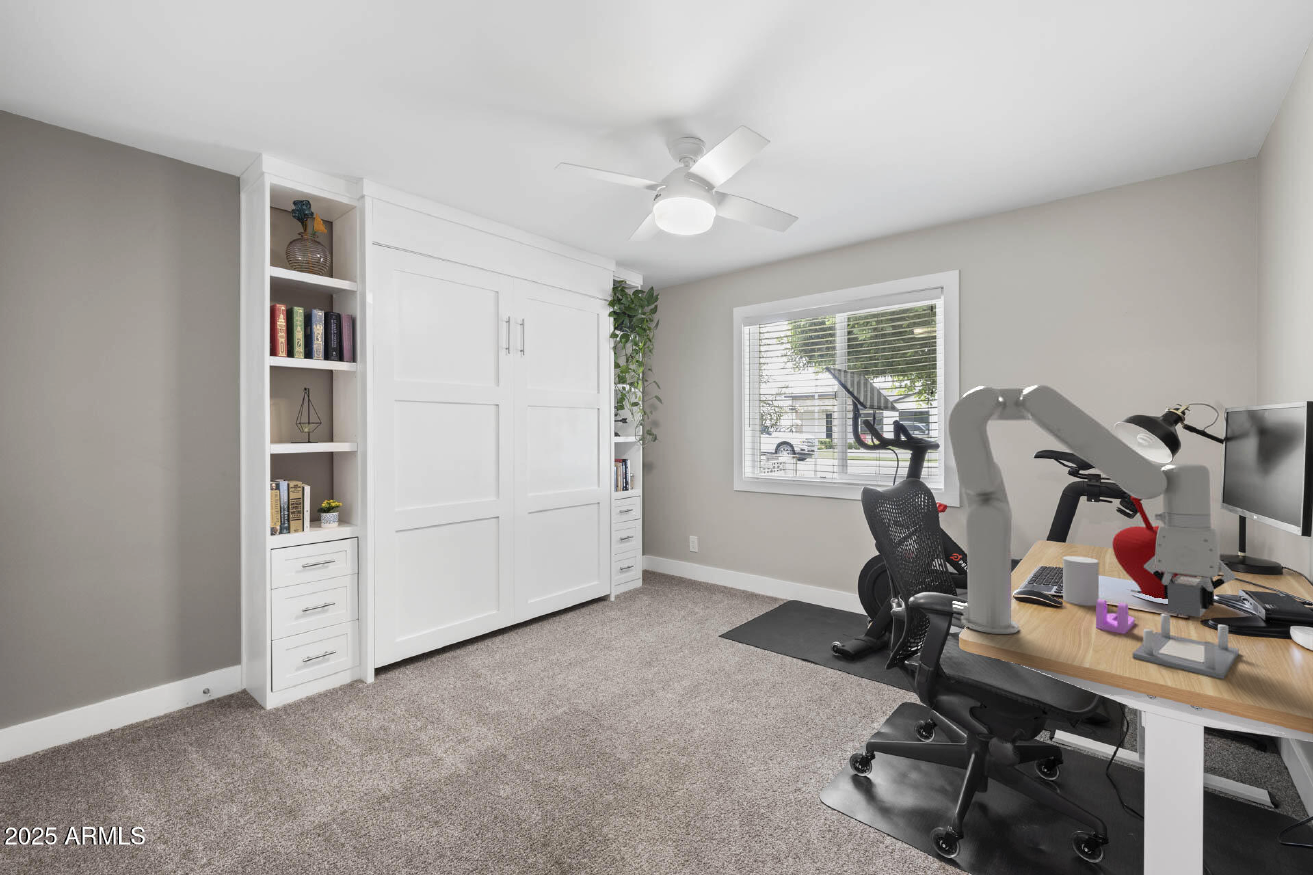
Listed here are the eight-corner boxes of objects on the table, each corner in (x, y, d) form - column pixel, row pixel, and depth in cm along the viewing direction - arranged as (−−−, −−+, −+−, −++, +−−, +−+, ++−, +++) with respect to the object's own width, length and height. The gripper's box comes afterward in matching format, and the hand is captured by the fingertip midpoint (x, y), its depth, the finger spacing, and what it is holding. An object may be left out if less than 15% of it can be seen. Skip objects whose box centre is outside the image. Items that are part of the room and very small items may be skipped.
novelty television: (1173, 591, 173) (1173, 491, 172) (1218, 605, 160) (1218, 496, 159) (1107, 594, 171) (1107, 492, 171) (1147, 607, 158) (1147, 498, 158)
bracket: (1124, 634, 139) (1124, 605, 139) (1096, 628, 143) (1096, 600, 143) (1136, 622, 147) (1136, 595, 147) (1109, 617, 151) (1109, 590, 151)
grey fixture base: (1132, 657, 125) (1132, 629, 125) (1155, 635, 137) (1155, 610, 137) (1222, 679, 114) (1222, 648, 114) (1238, 653, 126) (1238, 626, 126)
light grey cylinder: (1105, 605, 160) (1105, 562, 160) (1076, 605, 161) (1076, 562, 160) (1084, 597, 169) (1084, 556, 168) (1056, 597, 169) (1056, 556, 169)
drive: (1168, 611, 123) (1167, 583, 123) (1178, 601, 130) (1178, 574, 130) (1200, 617, 120) (1199, 587, 120) (1209, 606, 127) (1208, 578, 127)
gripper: (1132, 519, 129) (1134, 600, 129) (1239, 527, 116) (1242, 618, 116) (1140, 515, 134) (1142, 594, 134) (1245, 523, 121) (1247, 610, 121)
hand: (1188, 604), depth 125 cm, fingers closed on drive, 5 cm apart
